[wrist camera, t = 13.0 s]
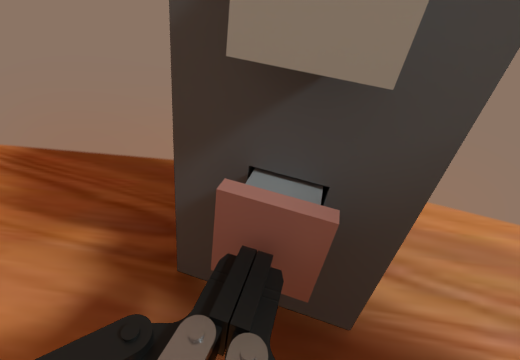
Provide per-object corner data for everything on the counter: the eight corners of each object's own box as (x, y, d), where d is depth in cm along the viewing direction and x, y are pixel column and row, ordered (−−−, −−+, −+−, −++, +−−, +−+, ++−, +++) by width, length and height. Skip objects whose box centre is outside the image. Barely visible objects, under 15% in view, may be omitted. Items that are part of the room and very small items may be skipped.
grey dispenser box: (350, 330, 20) (648, -168, 7) (177, 270, 22) (163, -193, 9) (348, 227, 30) (469, -55, 17) (230, 193, 32) (259, -79, 19)
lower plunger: (307, 302, 14) (339, 224, 11) (210, 269, 15) (216, 188, 12) (321, 205, 22) (342, 143, 19) (256, 187, 22) (266, 125, 19)
